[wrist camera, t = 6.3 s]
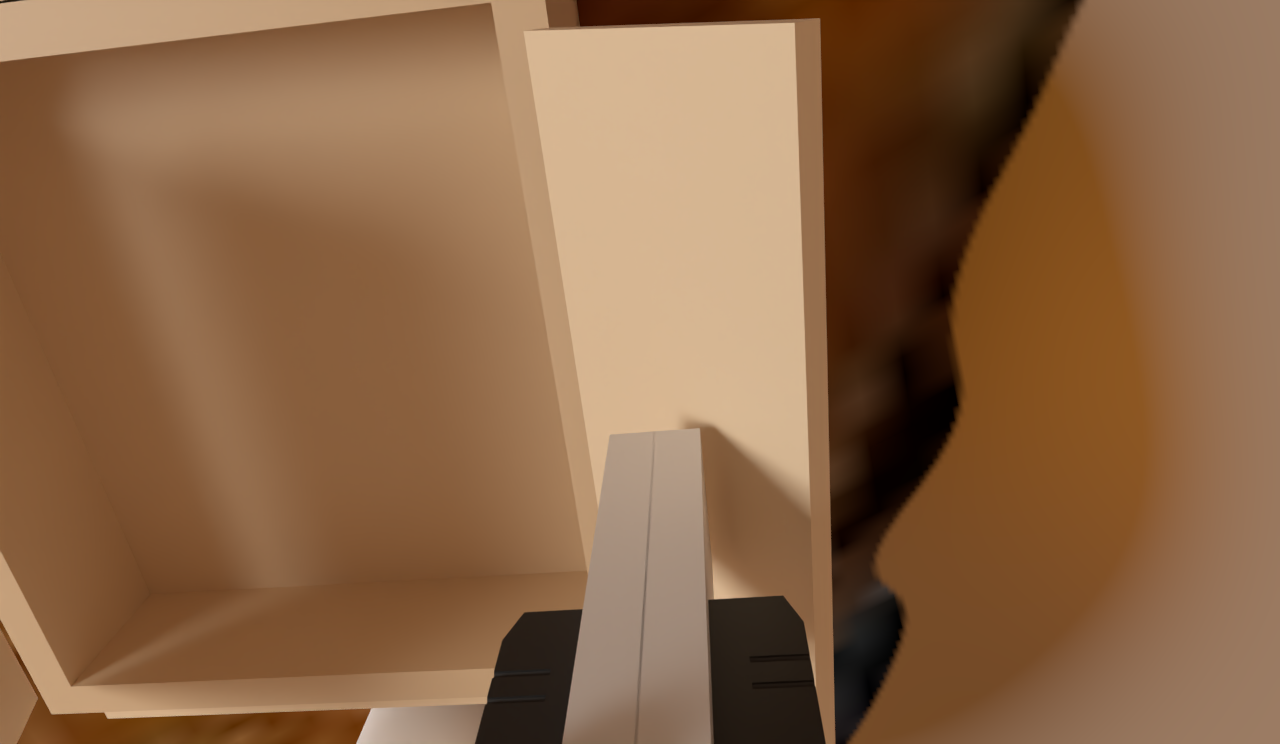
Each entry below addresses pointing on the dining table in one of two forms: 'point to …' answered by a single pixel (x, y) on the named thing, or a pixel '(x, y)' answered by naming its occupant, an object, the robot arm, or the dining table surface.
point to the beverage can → (423, 725)
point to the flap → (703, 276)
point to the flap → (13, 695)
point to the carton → (280, 353)
